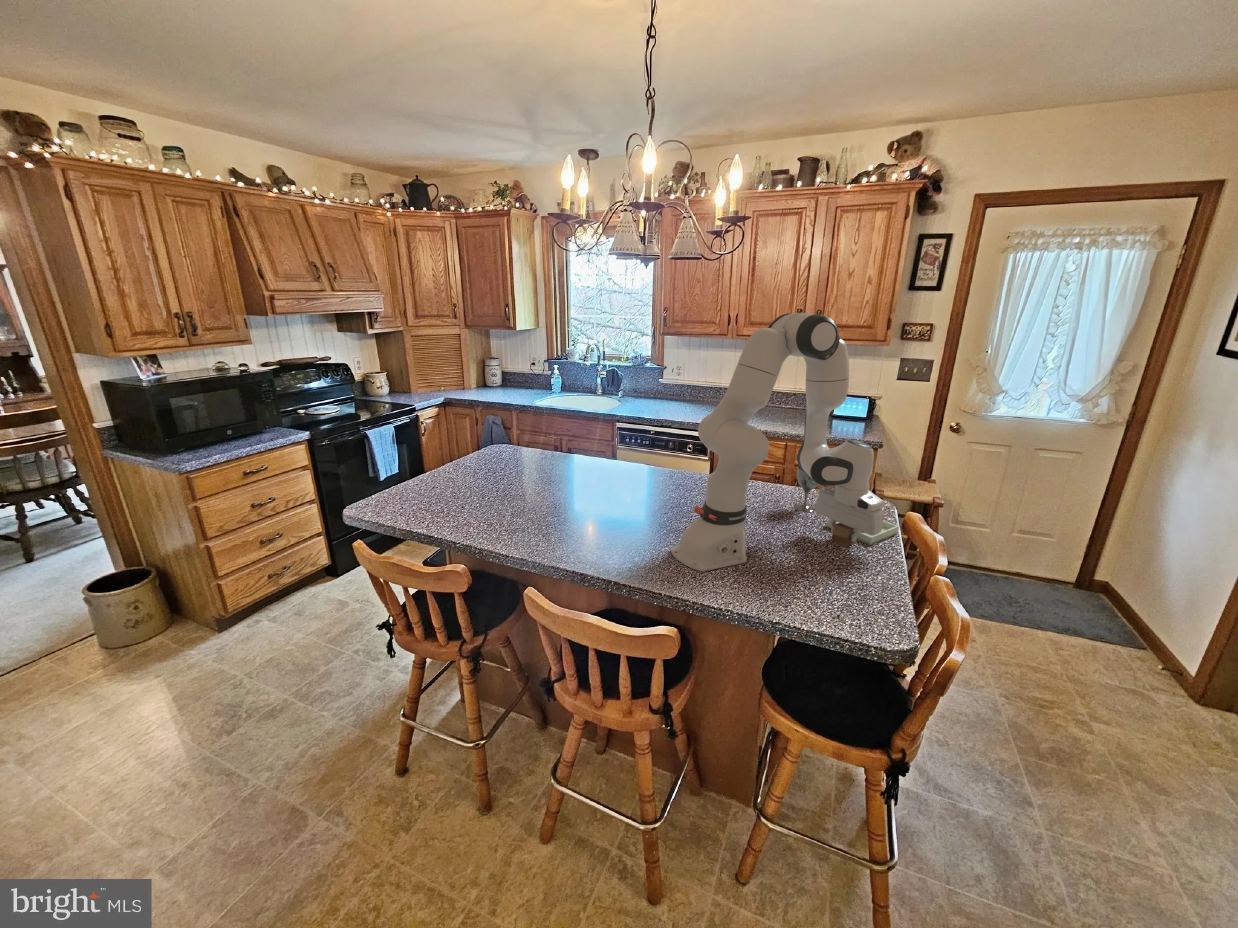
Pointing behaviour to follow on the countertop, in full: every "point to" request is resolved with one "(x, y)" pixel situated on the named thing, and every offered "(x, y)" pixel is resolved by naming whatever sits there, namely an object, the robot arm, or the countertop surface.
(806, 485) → the wine glass
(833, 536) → the block
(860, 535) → the tray
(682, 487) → the countertop surface
